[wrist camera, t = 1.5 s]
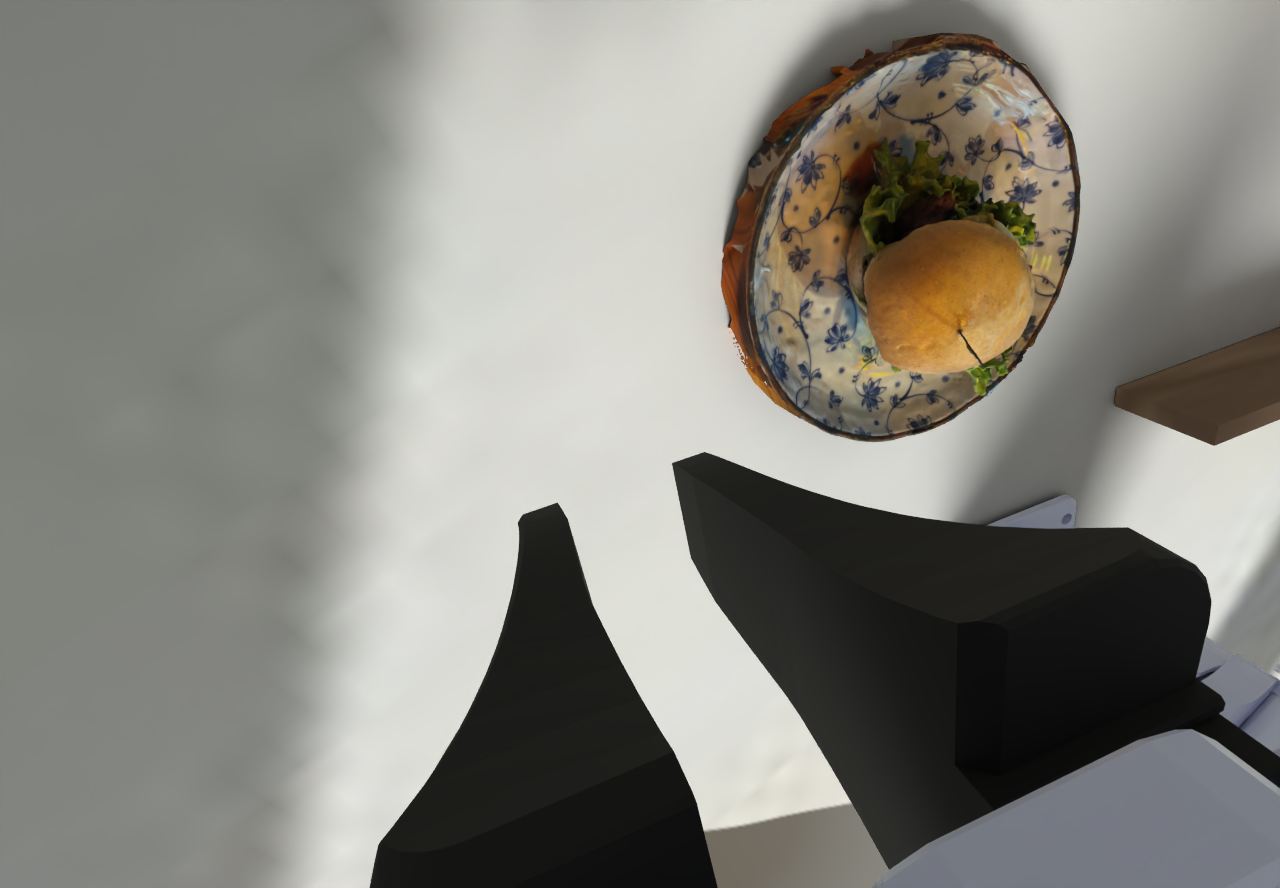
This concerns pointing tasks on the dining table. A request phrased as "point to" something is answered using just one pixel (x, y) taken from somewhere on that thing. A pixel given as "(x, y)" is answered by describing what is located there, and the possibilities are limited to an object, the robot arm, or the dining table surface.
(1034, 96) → the burger
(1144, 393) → the box
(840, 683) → the robot arm
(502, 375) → the dining table surface
